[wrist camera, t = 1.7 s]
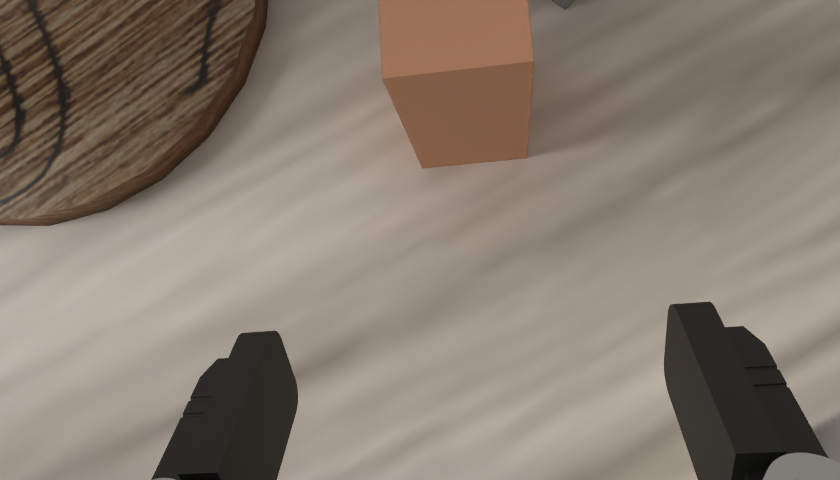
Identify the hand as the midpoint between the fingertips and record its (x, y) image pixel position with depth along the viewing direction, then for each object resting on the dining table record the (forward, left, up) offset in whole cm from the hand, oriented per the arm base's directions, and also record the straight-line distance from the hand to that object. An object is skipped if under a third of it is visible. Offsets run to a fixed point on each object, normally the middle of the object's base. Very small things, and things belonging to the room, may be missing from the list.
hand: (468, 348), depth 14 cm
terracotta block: (-9, +8, -16) cm, 20 cm away
